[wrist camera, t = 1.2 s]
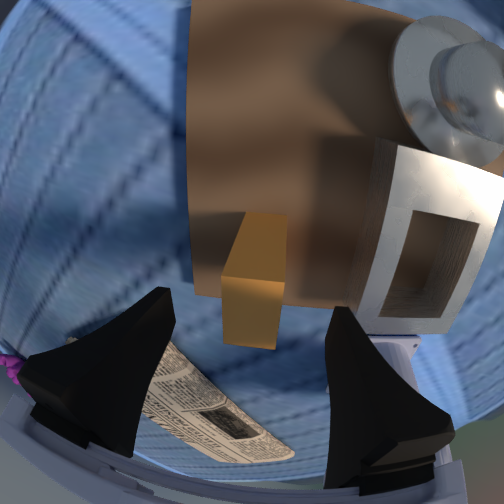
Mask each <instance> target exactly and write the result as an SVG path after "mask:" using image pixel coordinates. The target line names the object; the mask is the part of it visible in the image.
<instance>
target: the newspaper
mask: <svg viewBox="0 0 504 504" xmlns="http://www.w3.org/2000/svg"><path fill="white" fill-rule="evenodd" d="M76 340H78V339H76V338H72V337H69V338H68V339H67V340H66V342H65V343H66V344H69V343H72V342H74V341H76ZM142 413H143V414H145V415H146V416H147V417H149V418H150V419H151V420H153V421H154V422H156V423H157V424H158V425H160V426H161V427H163V428H164V429H166V430H167V431H169V432H170V433H172V434H173V435H175V436H176V437H178V438H179V439H181V440H183V441H184V442H186V443H187V444H189V445H191V446H192V447H194V448H196V449H197V450H199V451H201V452H203V453H204V454H206V455H208V456H210V457H212V458H213V459H215V460H217V461H219V462H231V463H258V462H270V461H280V460H286V459H289V458H291V457H294V454H295V452H294V451H292V450H291V449H290V448H288V447H287V446H286V445H284V444H283V443H282V442H280V441H279V440H278V439H276V438H275V437H274V436H272V435H271V434H270V433H269V432H267V431H266V430H265V429H264V428H262V427H261V426H260V425H259V424H257V423H256V422H255V421H254V420H253V419H251V418H250V417H249V416H248V415H247V414H245V413H244V412H243V411H242V410H241V409H240V408H238V407H237V406H236V405H235V404H234V403H233V402H232V401H231V400H229V399H228V398H227V397H226V396H225V395H224V394H223V393H222V392H221V391H220V390H218V389H217V388H216V387H215V386H214V385H213V384H212V383H211V382H210V381H209V380H208V379H207V378H206V377H205V376H204V375H203V374H202V373H201V372H200V371H199V370H198V369H197V368H196V367H195V366H194V365H193V364H192V363H191V362H190V361H189V360H188V359H187V358H186V357H185V356H184V355H183V354H182V353H181V352H180V351H179V350H178V349H177V348H176V347H175V346H174V345H173V343H172V342H171V341H169V343H168V346H167V348H166V350H165V352H164V354H163V356H162V358H161V361H160V363H159V365H158V367H157V369H156V371H155V373H154V375H153V378H152V380H151V383H150V385H149V388H148V391H147V395H146V398H145V401H144V405H143V408H142Z"/></svg>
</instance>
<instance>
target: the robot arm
mask: <svg viewBox="0 0 504 504" xmlns="http://www.w3.org/2000/svg"><path fill="white" fill-rule="evenodd" d="M175 323H176V319H175V314H174V308H173V302H172V297H171V291H170V288H166V287H159V286H158V287H156V288H155V289H154V290H152V291H151V292H150V293H148V294H147V295H146V296H144V297H143V298H142V299H141V300H139V301H138V302H137V303H135V304H134V305H133V306H131V307H130V308H129V309H127V310H126V311H125V312H123V313H122V314H120V315H119V316H117V317H116V318H115V319H113V320H112V321H110V322H109V323H107V324H106V325H104V326H103V327H101V328H99V329H97V330H96V331H94V332H92V333H90V334H88V335H86V336H84V337H82V338H80V339H78V340H76V341H74V342H72V343H69V344H67V345H64V346H62V347H59V348H56V349H53V350H50V351H47V352H43V353H39V354H35V355H31V356H29V358H28V359H27V360H26V362H25V363H24V365H23V366H22V368H21V369H20V371H19V372H18V373H17V380H18V381H19V383H20V384H21V386H22V387H23V388H24V389H25V390H26V392H27V393H28V394H29V395H30V396H31V397H32V398H33V399H34V401H35V402H36V404H35V406H34V407H33V406H32V405H31V404H30V403H28V402H27V401H26V400H24V399H23V398H21V397H20V396H18V395H17V394H16V393H14V394H13V396H12V398H11V399H10V401H9V403H8V405H7V406H6V408H5V409H4V411H3V413H2V414H1V416H0V437H1V438H2V439H3V440H4V441H5V442H6V443H7V444H9V445H10V446H11V447H12V448H13V449H14V450H16V451H17V452H18V453H19V454H20V455H21V456H22V457H24V458H25V459H26V460H27V461H28V462H30V463H31V464H32V465H33V466H35V467H36V468H37V469H38V470H40V471H41V472H43V473H44V474H45V475H47V476H48V477H49V478H51V479H52V480H54V481H55V482H57V483H58V484H59V485H61V486H62V487H64V488H65V489H67V490H68V491H70V492H72V493H73V494H75V495H77V496H78V497H80V498H82V499H83V500H85V501H87V502H89V503H90V504H182V503H178V502H175V501H171V500H167V499H164V498H160V497H157V496H154V492H153V490H151V489H148V488H146V487H144V486H143V485H141V484H139V483H138V482H137V481H136V480H133V479H131V478H129V477H126V476H124V475H122V474H120V473H118V472H116V471H115V470H117V471H119V472H122V473H124V474H127V475H130V476H132V477H135V478H138V479H140V480H143V481H146V482H149V483H152V484H155V485H158V486H162V487H165V488H169V489H172V490H176V491H180V492H183V493H188V494H192V495H196V496H201V497H206V498H211V499H217V500H222V501H228V502H236V503H243V504H468V501H467V493H466V485H465V478H464V472H463V467H462V461H461V460H460V459H459V460H456V461H453V462H452V457H451V452H450V447H449V443H450V442H451V441H452V440H453V439H454V437H455V430H454V426H453V423H452V419H451V416H450V415H449V414H448V413H446V412H445V411H443V410H442V409H440V408H438V407H437V406H435V405H434V404H432V403H431V402H430V401H428V400H427V399H426V398H424V397H423V396H422V395H421V394H420V393H419V389H418V386H417V382H416V379H415V375H414V372H413V369H412V366H411V362H410V359H411V358H412V356H413V355H414V353H415V351H416V350H417V348H418V346H419V345H420V343H421V341H422V339H421V337H420V336H367V334H366V333H365V331H364V330H363V328H362V327H361V325H360V324H359V322H358V320H357V319H356V317H355V316H354V314H353V313H352V311H351V310H350V308H349V307H345V306H335V308H334V311H333V315H332V318H331V321H330V325H329V328H328V331H327V334H326V337H325V361H326V369H327V378H328V385H327V387H326V393H328V394H329V395H330V408H331V415H330V440H329V452H328V462H327V469H326V472H325V475H324V484H323V486H324V489H323V490H322V489H320V490H286V489H285V490H284V489H267V488H256V487H246V486H237V485H231V484H224V483H219V482H213V481H208V480H203V479H198V478H194V477H189V476H185V475H181V474H177V473H173V472H170V471H166V470H163V469H159V468H156V467H153V466H150V465H147V464H144V463H141V462H138V461H135V460H132V459H130V458H131V457H133V451H134V445H135V439H136V433H137V429H138V424H139V420H140V416H141V412H142V408H143V405H144V401H145V398H146V395H147V391H148V388H149V385H150V383H151V380H152V378H153V375H154V373H155V371H156V369H157V367H158V365H159V363H160V361H161V358H162V356H163V354H164V352H165V350H166V348H167V346H168V343H169V341H170V339H171V336H172V333H173V329H174V326H175ZM114 469H115V470H114Z"/></svg>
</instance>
